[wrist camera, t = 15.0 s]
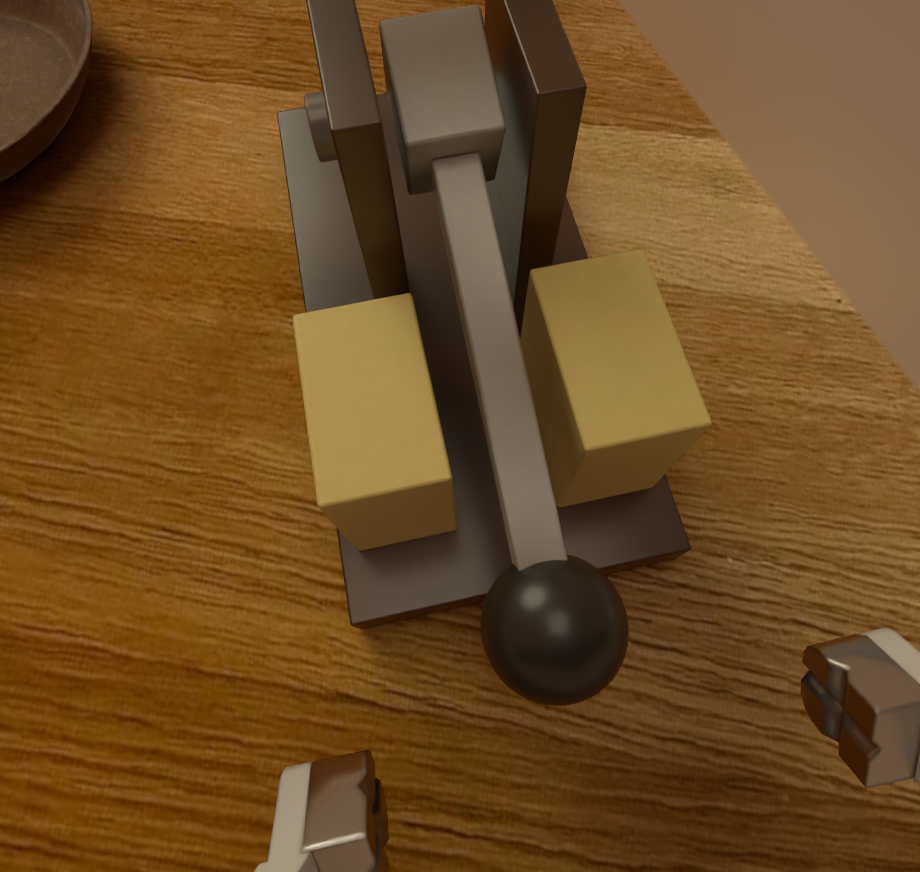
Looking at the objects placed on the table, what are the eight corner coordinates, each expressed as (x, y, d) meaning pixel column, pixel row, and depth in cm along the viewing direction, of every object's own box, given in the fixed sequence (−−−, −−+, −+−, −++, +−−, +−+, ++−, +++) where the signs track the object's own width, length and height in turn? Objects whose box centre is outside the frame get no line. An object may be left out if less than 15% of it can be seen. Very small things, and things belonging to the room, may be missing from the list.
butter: (604, 345, 20) (643, 245, 16) (653, 488, 19) (714, 423, 14) (333, 399, 20) (290, 313, 15) (357, 552, 18) (317, 507, 13)
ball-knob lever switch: (617, 660, 15) (666, 709, 12) (490, 690, 15) (506, 748, 12) (490, 81, 16) (505, -17, 13) (368, 102, 16) (352, 7, 13)
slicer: (676, 558, 19) (901, 427, 9) (359, 630, 19) (226, 571, 9) (519, 101, 26) (547, -253, 16) (286, 141, 26) (169, -200, 16)
